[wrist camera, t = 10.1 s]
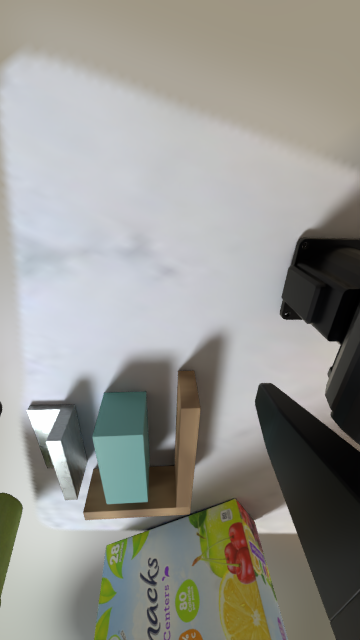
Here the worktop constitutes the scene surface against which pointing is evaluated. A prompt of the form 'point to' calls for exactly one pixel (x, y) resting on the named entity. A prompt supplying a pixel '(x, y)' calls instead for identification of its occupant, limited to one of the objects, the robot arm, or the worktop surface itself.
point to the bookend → (61, 444)
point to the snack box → (190, 582)
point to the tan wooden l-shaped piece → (160, 468)
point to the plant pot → (7, 531)
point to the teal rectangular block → (123, 447)
